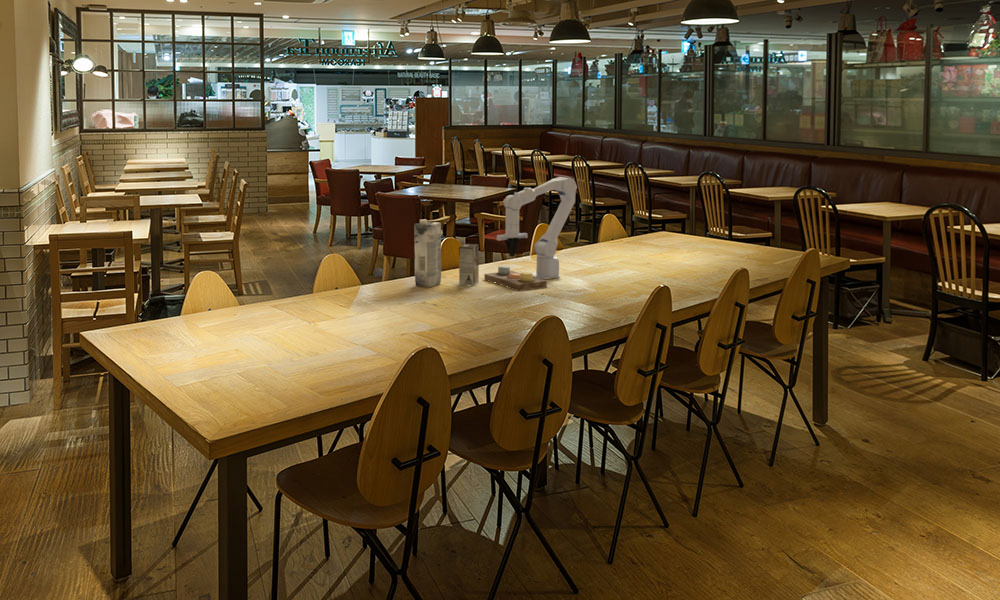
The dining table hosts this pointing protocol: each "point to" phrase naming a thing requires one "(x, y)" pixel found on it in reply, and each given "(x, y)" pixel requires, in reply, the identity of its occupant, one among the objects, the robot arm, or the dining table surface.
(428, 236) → the juice carton
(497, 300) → the dining table surface
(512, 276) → the button terracotta
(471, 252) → the coffee box
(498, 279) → the board
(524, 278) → the button ochre
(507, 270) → the button blue
